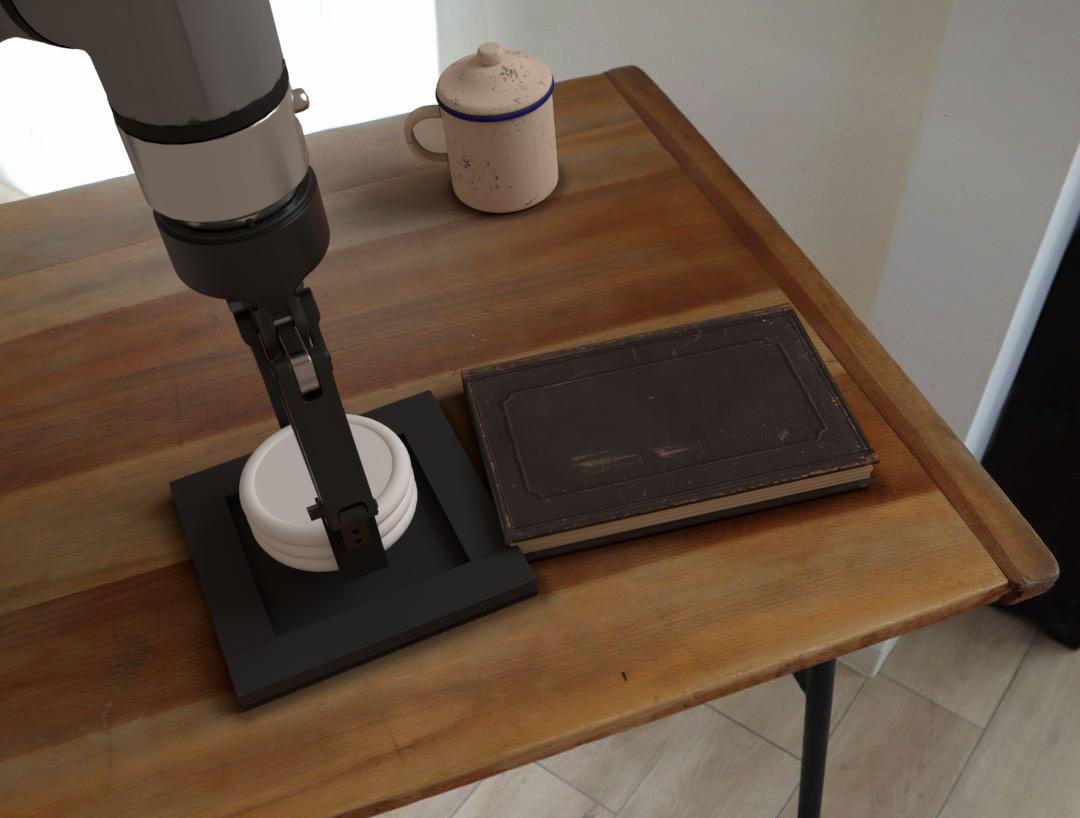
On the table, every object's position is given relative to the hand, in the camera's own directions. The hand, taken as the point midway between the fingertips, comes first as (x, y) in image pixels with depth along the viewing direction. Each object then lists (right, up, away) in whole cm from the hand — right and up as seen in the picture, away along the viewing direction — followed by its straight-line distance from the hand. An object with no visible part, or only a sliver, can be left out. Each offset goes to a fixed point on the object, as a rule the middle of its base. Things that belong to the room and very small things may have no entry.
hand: (336, 506), depth 70 cm
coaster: (0, 0, 0) cm, 0 cm away
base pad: (0, -2, +3) cm, 3 cm away
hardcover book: (+20, +5, +6) cm, 21 cm away
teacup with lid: (+8, +27, +26) cm, 38 cm away
